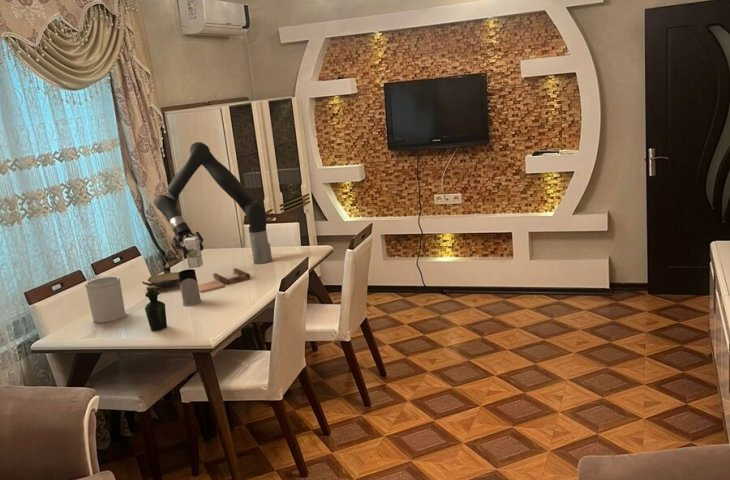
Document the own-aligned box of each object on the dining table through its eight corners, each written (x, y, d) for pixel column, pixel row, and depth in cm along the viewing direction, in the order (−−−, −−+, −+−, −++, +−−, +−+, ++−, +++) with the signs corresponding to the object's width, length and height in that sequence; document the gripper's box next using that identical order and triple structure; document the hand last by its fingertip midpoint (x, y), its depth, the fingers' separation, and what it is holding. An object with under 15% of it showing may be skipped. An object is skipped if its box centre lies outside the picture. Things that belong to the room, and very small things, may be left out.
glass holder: (182, 307, 322) (176, 275, 319) (181, 299, 335) (176, 268, 332) (202, 303, 324) (196, 271, 321) (200, 295, 337) (195, 265, 334)
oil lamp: (135, 295, 353) (132, 280, 351) (162, 277, 382) (159, 263, 380) (177, 292, 349) (175, 277, 347) (201, 274, 377) (198, 260, 376)
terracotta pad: (216, 282, 358) (215, 280, 358) (224, 286, 348) (224, 284, 348) (193, 288, 352) (192, 286, 352) (201, 292, 342) (200, 290, 342)
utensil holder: (115, 310, 330) (108, 274, 326) (133, 314, 321) (126, 276, 317) (86, 321, 319) (78, 283, 315) (104, 325, 310) (96, 286, 306)
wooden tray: (236, 272, 372) (235, 268, 371) (250, 278, 357) (249, 274, 356) (213, 278, 366) (212, 273, 365) (226, 285, 351) (225, 280, 350)
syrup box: (203, 264, 357) (198, 235, 354) (199, 267, 352) (194, 238, 348) (192, 265, 358) (187, 236, 355) (188, 268, 352) (183, 239, 349)
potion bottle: (171, 323, 300) (163, 282, 296) (166, 330, 293) (158, 288, 289) (151, 326, 300) (143, 285, 296) (146, 332, 292) (138, 290, 288)
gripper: (168, 225, 351) (183, 250, 345) (194, 219, 360) (209, 243, 354) (165, 234, 356) (180, 260, 350) (190, 228, 365) (205, 252, 359)
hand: (194, 251), depth 352 cm, fingers closed on syrup box, 8 cm apart
